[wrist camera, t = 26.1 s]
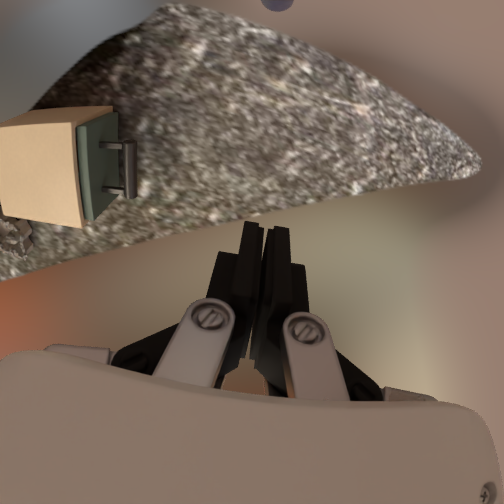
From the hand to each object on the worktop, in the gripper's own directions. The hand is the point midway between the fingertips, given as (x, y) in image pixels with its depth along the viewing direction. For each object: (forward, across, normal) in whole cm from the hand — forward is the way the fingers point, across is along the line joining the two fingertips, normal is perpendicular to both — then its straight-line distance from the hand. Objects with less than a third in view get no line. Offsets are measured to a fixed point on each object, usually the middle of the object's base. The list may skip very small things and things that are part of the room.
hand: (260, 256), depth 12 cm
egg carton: (+22, +40, +18) cm, 50 cm away
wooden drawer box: (+22, +25, +4) cm, 33 cm away
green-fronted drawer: (+21, +21, +4) cm, 30 cm away
